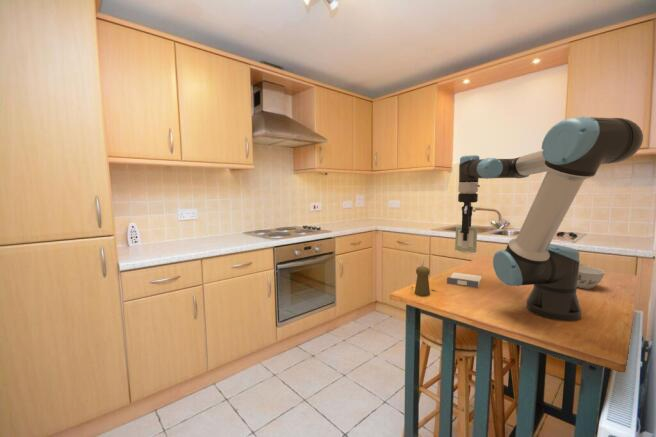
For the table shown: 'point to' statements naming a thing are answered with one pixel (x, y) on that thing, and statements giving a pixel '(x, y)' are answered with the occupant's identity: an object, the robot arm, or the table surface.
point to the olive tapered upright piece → (422, 282)
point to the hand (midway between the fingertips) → (465, 246)
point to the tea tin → (471, 239)
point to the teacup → (589, 277)
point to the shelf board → (464, 280)
